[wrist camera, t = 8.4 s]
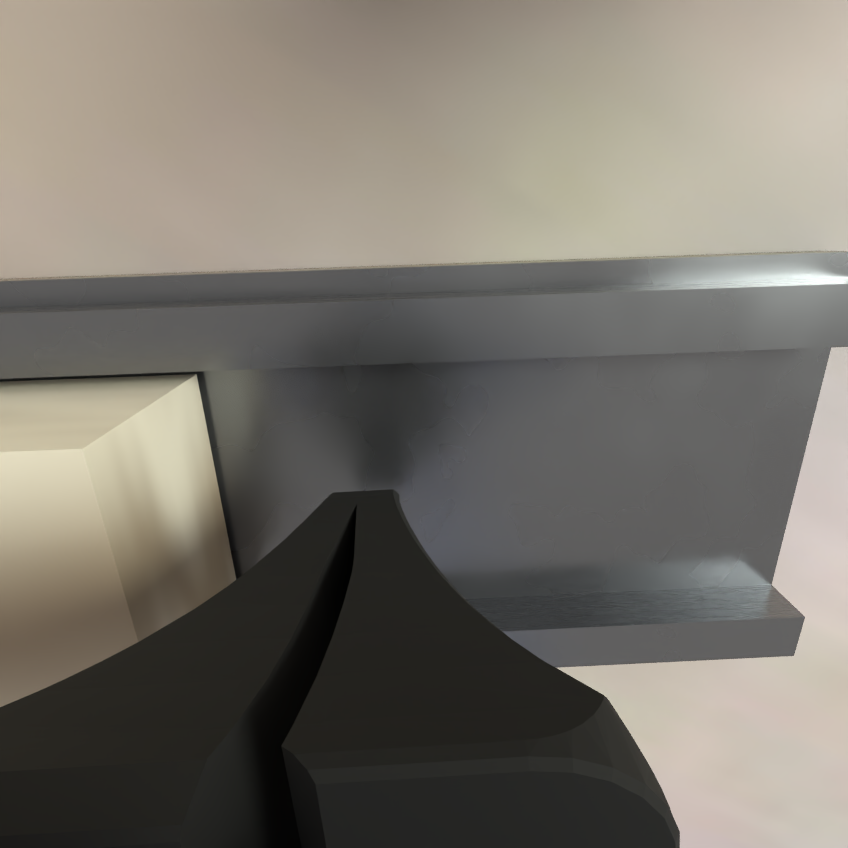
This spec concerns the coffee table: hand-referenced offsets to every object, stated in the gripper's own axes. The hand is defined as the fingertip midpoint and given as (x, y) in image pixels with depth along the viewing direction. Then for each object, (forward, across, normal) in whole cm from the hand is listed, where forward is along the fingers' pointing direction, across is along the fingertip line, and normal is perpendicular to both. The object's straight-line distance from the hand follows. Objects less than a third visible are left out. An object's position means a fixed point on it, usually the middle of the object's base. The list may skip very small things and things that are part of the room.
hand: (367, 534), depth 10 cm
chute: (+3, +1, 0) cm, 3 cm away
